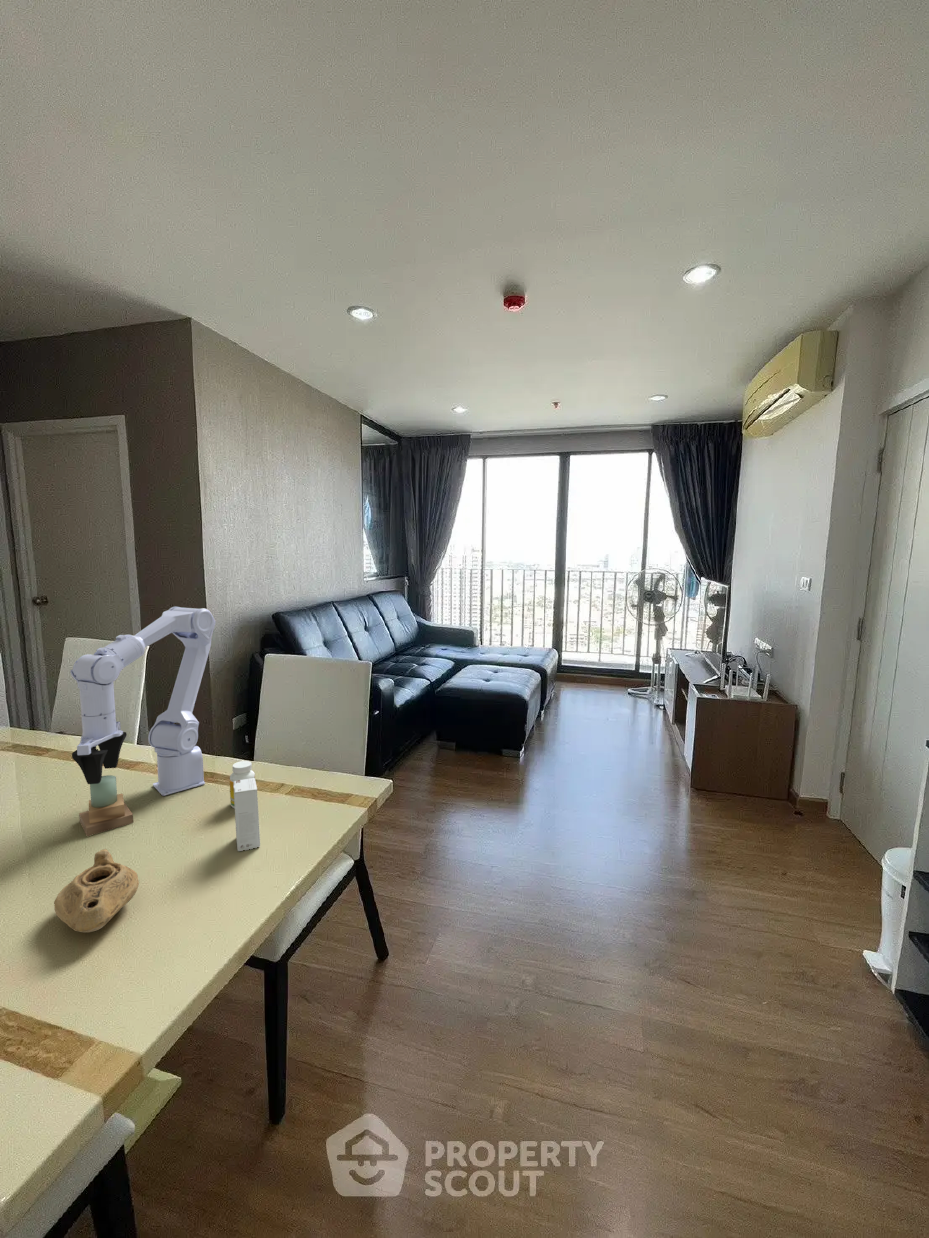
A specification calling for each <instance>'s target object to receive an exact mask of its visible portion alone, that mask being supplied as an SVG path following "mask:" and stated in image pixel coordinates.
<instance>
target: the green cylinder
mask: <svg viewBox="0 0 929 1238" xmlns="http://www.w3.org/2000/svg"><path fill="white" fill-rule="evenodd" d="M89 790H90V791H89V793H90V800H91V806H92V807H95V808H101V807H106V806H109V805H112V804H114V803H115V802H117V794H118V792H117V791H118V790H117V776H116V775H111V774H108V775H102V778H101V782H100V783H98V784H89Z"/></svg>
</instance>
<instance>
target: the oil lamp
mask: <svg viewBox="0 0 929 1238" xmlns="http://www.w3.org/2000/svg"><path fill="white" fill-rule="evenodd" d="M93 860H94V862H93V865H91V867H89V868H87V869H85V870H84V871H83V872H81V873H79V874H78V875H76V876H75V877H74V878H73V879H72V881H70V882H68V884H66V885H65V886H64V887H63V888H62V889H61V891H59V893H58V894H57V895H56V897H55V899H54V901H53V905H54V912H55V914H56V916H57V918H59V920H61V922H63V923H65V924H66V925H67V926H68V927H69V928H70V929H72V930H74V931H75V932H79V933H93V932H95V931H99V930H101V929H102V928H104V927H105V926H106V925H107V924H108V923H109V921H111V919H113V917H115V915H116V914H118V912H119V911H121V909H123V907H125V905H127V904H128V903H129V902H130V901H131V900H132V899H133V898H134V896H135V895H136V893H137V891H138V889H139V886H140V885H139V884H140V882H139V881H140V880H139V877H138V873H137V872H136V871H135V870H134V869H132V868H131V867H128V866H126V865H124V864H121V863H120V862H115V860H114V859H113V856H112V854H111V853H110V852H109V850H108V849H104V848H103V849H101V850H99V851H97V852H95V854H94V859H93Z"/></svg>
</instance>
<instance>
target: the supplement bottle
mask: <svg viewBox="0 0 929 1238" xmlns="http://www.w3.org/2000/svg"><path fill="white" fill-rule="evenodd" d="M252 768H253V765H252V762H251V761H249V760H242V761H241V760H240V761H237V762H235V763H233V764H232V773H231V774H230V775H229V796H230V798H229V799H230V806H231V807H232V808H233V809H235V806H234V785H233V782H234V781H238V780H243V779H249V778H255V779H256V773H255V772H254V771H253V769H252Z"/></svg>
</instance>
